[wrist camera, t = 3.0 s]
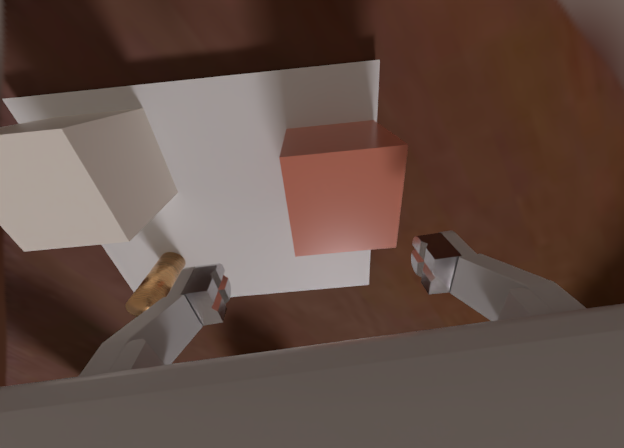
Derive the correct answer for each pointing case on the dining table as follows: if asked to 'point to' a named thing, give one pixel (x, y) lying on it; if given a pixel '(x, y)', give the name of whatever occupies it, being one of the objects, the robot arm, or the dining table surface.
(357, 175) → the salmon red cube
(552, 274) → the dining table surface
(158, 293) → the bronze cylinder
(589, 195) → the dining table surface
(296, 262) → the plate
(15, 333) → the dining table surface
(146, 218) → the pale grey cube
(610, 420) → the robot arm
